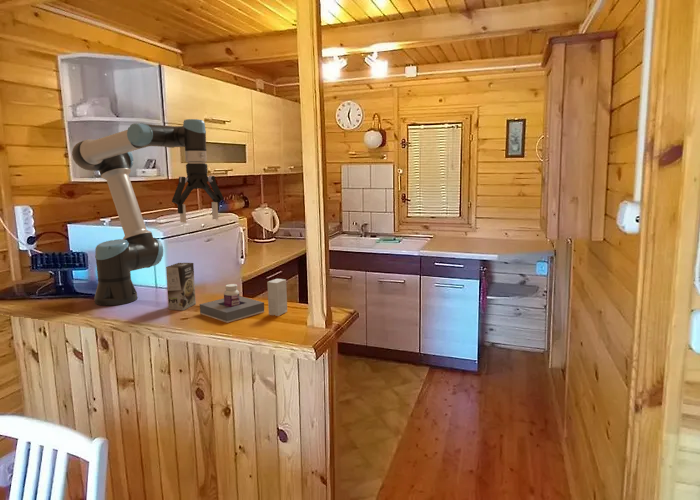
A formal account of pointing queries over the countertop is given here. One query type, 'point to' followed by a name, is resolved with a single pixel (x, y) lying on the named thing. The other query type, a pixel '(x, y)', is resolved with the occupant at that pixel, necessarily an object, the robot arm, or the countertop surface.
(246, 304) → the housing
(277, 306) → the skincare box
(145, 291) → the countertop surface
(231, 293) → the pill bottle
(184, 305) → the coffee box
